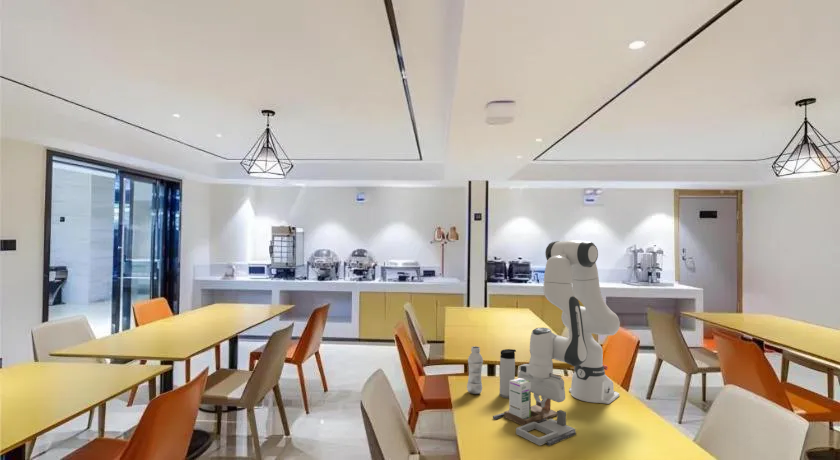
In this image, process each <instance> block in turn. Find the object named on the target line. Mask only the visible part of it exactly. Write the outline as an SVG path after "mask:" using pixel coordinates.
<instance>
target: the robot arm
mask: <svg viewBox="0 0 840 460" xmlns="http://www.w3.org/2000/svg"><path fill="white" fill-rule="evenodd" d="M598 250H599V249H598V248H597V246H596V245H595V243H594V242H592V241H588V240H575V239H574V240H573V239H570V240H561V241H560V240H555V241H551V242H550V243H548V244H547V246H546V248H545V253H544V254H545V259H546V263H545V268H544V274H543V275H544V276H543V294H544V297H545V298H546V300H547V301H548V302H549V303H551V304H552V305H553V306H555V307H557V308H558V309H559V310H561V311H562V312H561V321H562V323H563V325H564V326H565V327H566V329H568V337H567V336H562V335H559V334H556V333H553V332H552V330H551V329H550V328H547V327H536V328H534V329H533V330H532V331H531V334H530V339H529V353H530V354H529V355H530V357H529V362H528V363H523V364H521V365H519V366H518V370H519V371H518V375H517V379H518V378H522V379H526V380H528V381H530V382H531V393H532V394H533V398H534V400H535V405H537V406H540V407H542V408H543V407H545V402H546V400H547V399H551V401H554V402H557V403H562V402H564V401H565V400H566V391H565V380H563V378H562V376H560V375H556V374H554V373H553V371H554V369H553V368H554V366H553V365H554V364H553V363H554V361H553V360H555V361H559V362H562V363H566V364H568V365H571V366H572V367H574V368H573V371H574V372H573V373H572V377H571V383H570V384H571V386H570V388H569V389H568V392H570V394H571V397H573V398H575V399H577V400H580V401H582V402H588V403H595V404H596V403H597V404H599V403H600V404H606V405H609V404H612V402H613V401H615V400H616V399H618V398H619V397H620V393H619V392H618V391H615V390H614V382H613V380H611V378H610V377H608V376H607V375H606V372H605V371H608V369H609V366H608V365H606V364H603V363H604V362H603V360H604V359H603V353H604V352H603V351H604V350H603V346H601V344H600V343H598V341H597V340H595V338H594V336H593V335H598V336H614V335H616V334H617V333H618V331H619V330H620V327H621V322H620V318H619V316H618V315H617V313H615V312H614V311H612V310H611V308H610V307H609V306H608V305H607V303H606V302H605V300H604V298H603V295H602V292H601V287H600V286H601V285H600V280H599V271H598V266H597V260H598V258H599V251H598ZM580 303H581V304H582V306H581V305H580Z"/></svg>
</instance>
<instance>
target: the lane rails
mask: <svg viewBox="0 0 840 460" xmlns="http://www.w3.org/2000/svg"><path fill="white" fill-rule="evenodd" d="M501 418H505V417H504V412H501V413H499V414H495V415H492V419H493V420H498V419H501ZM546 420H548V419H542V420H539V421H536V423H541V422H544V421H546ZM576 434H577V432H576V430H575V431H571V432H569V433H566V434H564V435H561V436H559V437H557V438H554V439H552V440H549V441H547V443H545V444H546V446H548V447H550V446H553V445H554V444H557V443H560V442H561V441H564V440H567V439H569V438H571V437H574V436H576Z"/></svg>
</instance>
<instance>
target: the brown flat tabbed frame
mask: <svg viewBox="0 0 840 460" xmlns="http://www.w3.org/2000/svg"><path fill="white" fill-rule="evenodd" d="M551 403H552V400H551V399H547V400H546V402H545V407H543V408H542V407H540V406H537V405H536V404H534V405H531V418H528V419H525V420H524V419H522V418H520V417H518V416H516V415H513V414H511V413H509V409H508V410H505V411H503V413H504V417H503V418H506V419H507V420H510V421H512V422H515V423H516V424H519V425H520V426H523V425H526V424H529V423H531V422H536V421H539V420H542V419H547V420H549V419H552V418H553V417H557V410H553V409H551V405H552V404H551Z"/></svg>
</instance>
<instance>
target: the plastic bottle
mask: <svg viewBox="0 0 840 460" xmlns="http://www.w3.org/2000/svg"><path fill="white" fill-rule="evenodd" d="M470 349H471V350H470V352H471V353H470V354H469V356H468V358H467V364H468V379H467V384H466V390H467V392H468V393H469V394H472V395H473V394H474V395H479V394H481V393H482V391H483V384H482V371H483V368H482V367H483V363H484V358H483V356H482V354H481V347H480V346H476V345H475V346H471V348H470Z"/></svg>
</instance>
